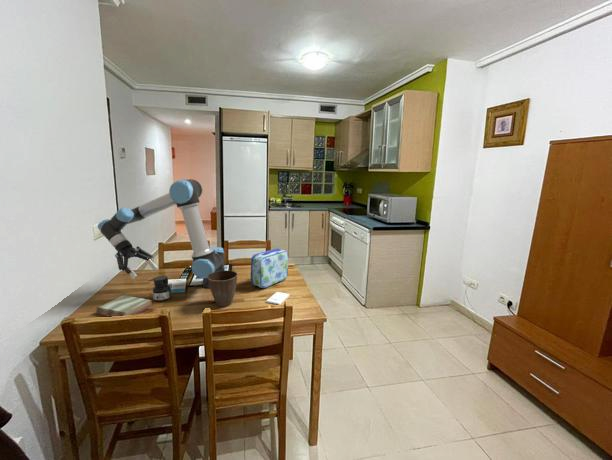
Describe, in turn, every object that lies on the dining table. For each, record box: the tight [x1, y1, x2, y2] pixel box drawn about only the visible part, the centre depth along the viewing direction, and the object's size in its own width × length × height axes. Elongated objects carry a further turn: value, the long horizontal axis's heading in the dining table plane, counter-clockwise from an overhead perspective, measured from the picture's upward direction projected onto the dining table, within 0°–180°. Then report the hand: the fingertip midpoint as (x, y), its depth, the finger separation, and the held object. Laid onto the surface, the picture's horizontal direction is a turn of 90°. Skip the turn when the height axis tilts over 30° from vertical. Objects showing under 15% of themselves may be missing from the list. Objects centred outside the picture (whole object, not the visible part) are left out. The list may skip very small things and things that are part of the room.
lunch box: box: [250, 248, 289, 289], centre depth 177 cm, size 26×11×21 cm, turn 143°
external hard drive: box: [265, 291, 290, 305], centre depth 157 cm, size 2×8×12 cm
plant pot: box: [207, 269, 238, 308], centre depth 149 cm, size 15×15×16 cm
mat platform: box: [96, 294, 153, 317], centre depth 143 cm, size 18×15×4 cm
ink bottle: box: [152, 275, 172, 303], centre depth 154 cm, size 10×9×12 cm
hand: (146, 273), depth 155 cm, fingers open, 13 cm apart
